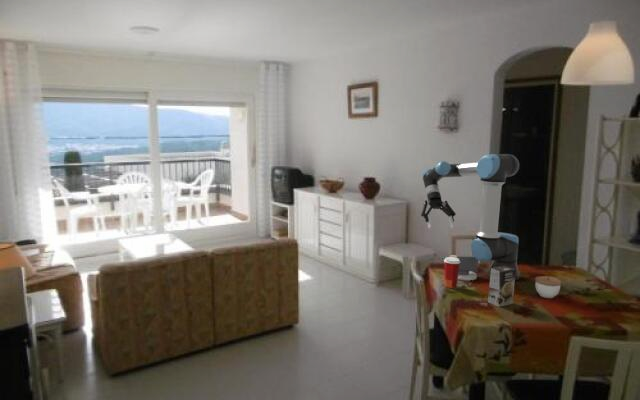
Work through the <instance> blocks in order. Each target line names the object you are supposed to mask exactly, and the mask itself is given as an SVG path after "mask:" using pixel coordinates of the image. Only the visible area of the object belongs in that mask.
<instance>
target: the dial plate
mask: <svg viewBox="0 0 640 400" xmlns="http://www.w3.org/2000/svg"><path fill="white" fill-rule="evenodd" d="M477 278H478V274H477V273H476V272H475V271H469V274H468V275H461V274H458V280H457V281H464V282H465V281H466V282H467V281H469V282H471V280H472V281H475V280H477Z"/></svg>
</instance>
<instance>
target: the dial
mask: <svg viewBox="0 0 640 400" xmlns="http://www.w3.org/2000/svg"><path fill="white" fill-rule="evenodd" d="M449 257H455V258H458V259H459V260H460V264H459V273H458V274H461V275H468V274H469V271H472V272H478V269H479V268H478V267H479V266H478V264H479V260H477V259H476V258H475V257H474V256H473V255H458V254H457V255H455V254H452V255H451V254H449Z"/></svg>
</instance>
